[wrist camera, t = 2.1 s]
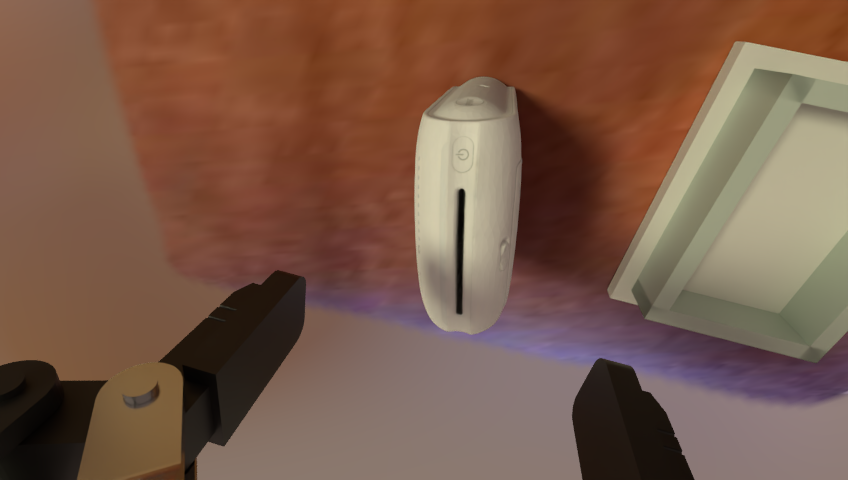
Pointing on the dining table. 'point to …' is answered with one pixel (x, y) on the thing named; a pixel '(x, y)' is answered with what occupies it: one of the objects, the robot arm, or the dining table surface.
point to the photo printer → (467, 203)
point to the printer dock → (753, 211)
